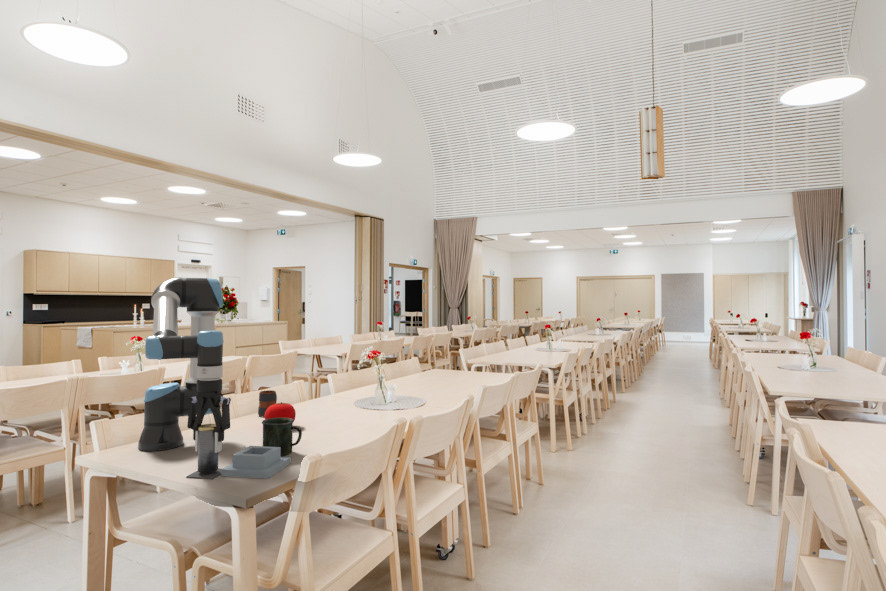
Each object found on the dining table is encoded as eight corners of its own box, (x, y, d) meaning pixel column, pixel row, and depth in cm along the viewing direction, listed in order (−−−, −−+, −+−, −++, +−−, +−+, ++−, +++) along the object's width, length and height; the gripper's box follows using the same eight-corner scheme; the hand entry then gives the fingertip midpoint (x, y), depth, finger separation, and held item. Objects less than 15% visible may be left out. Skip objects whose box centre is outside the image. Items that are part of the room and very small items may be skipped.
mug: (269, 448, 193) (269, 417, 193) (306, 450, 191) (306, 418, 192) (255, 457, 182) (256, 423, 182) (295, 458, 181) (295, 424, 181)
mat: (186, 477, 160) (186, 476, 160) (203, 468, 169) (203, 467, 169) (212, 479, 159) (212, 478, 159) (228, 470, 168) (228, 469, 168)
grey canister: (193, 472, 161) (194, 427, 162) (205, 466, 167) (205, 423, 168) (211, 473, 161) (211, 428, 161) (222, 467, 166) (222, 424, 167)
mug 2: (283, 412, 257) (283, 389, 257) (270, 417, 245) (270, 393, 246) (268, 411, 259) (268, 388, 259) (254, 416, 247) (254, 392, 248)
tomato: (288, 431, 220) (288, 405, 220) (259, 429, 222) (260, 404, 222) (300, 424, 232) (300, 400, 232) (273, 423, 234) (273, 399, 234)
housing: (220, 475, 162) (221, 456, 162) (247, 460, 178) (247, 443, 178) (268, 478, 160) (268, 459, 160) (290, 463, 176) (290, 445, 176)
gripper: (175, 379, 162) (173, 452, 162) (230, 381, 159) (229, 455, 159) (189, 376, 170) (188, 446, 169) (243, 378, 167) (242, 449, 166)
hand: (208, 450), depth 164 cm, fingers closed on grey canister, 6 cm apart
